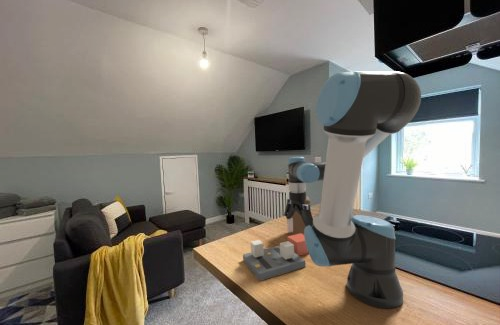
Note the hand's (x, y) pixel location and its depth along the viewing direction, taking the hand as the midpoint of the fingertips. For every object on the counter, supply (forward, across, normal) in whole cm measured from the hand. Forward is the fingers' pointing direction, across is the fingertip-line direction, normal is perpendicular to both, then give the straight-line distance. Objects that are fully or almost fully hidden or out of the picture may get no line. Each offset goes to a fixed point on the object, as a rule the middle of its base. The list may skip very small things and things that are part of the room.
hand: (298, 237), depth 95 cm
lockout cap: (+6, -1, 0) cm, 6 cm away
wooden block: (+7, +14, -12) cm, 20 cm away
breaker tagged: (+3, -1, +21) cm, 21 cm away
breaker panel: (+6, -5, +16) cm, 18 cm away
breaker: (+3, -8, +11) cm, 14 cm away
